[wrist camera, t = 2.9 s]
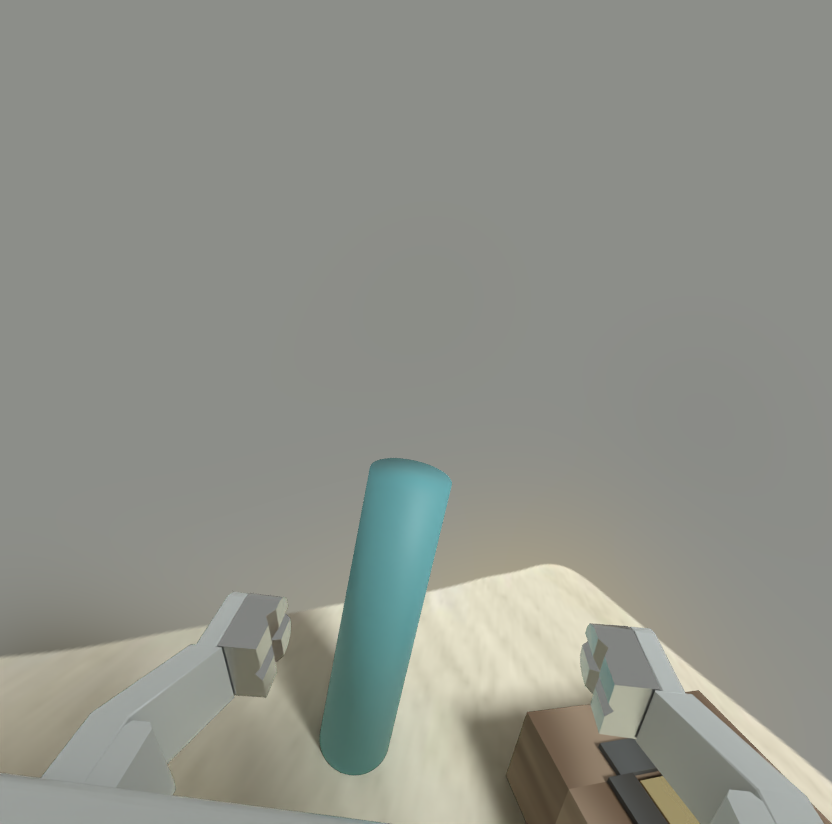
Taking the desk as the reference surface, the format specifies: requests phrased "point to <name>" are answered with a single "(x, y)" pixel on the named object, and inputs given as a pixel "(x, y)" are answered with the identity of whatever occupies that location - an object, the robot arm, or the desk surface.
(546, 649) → the desk surface
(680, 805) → the tan square plate
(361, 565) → the peg
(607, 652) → the robot arm
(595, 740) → the socket block
